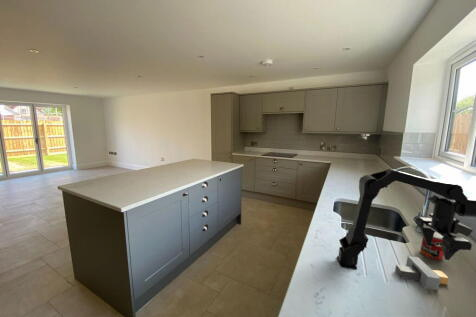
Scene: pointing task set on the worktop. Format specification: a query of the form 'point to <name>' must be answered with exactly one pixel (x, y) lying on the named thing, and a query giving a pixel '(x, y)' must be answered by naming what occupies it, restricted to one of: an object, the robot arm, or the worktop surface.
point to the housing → (424, 273)
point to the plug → (417, 273)
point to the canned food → (433, 247)
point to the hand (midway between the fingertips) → (437, 251)
